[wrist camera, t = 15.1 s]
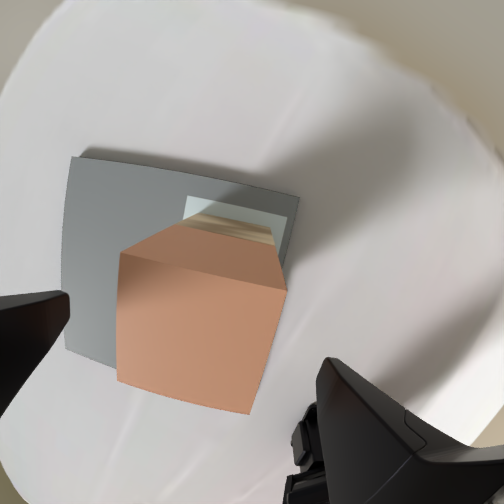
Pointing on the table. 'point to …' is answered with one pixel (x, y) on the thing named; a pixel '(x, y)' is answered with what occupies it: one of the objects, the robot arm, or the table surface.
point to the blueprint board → (139, 233)
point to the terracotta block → (197, 316)
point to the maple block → (229, 228)
